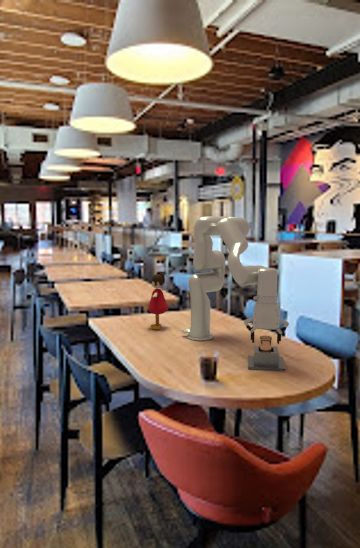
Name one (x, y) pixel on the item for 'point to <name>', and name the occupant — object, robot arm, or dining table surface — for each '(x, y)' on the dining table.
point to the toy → (157, 299)
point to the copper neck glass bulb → (265, 343)
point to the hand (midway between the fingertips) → (265, 342)
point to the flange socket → (266, 360)
